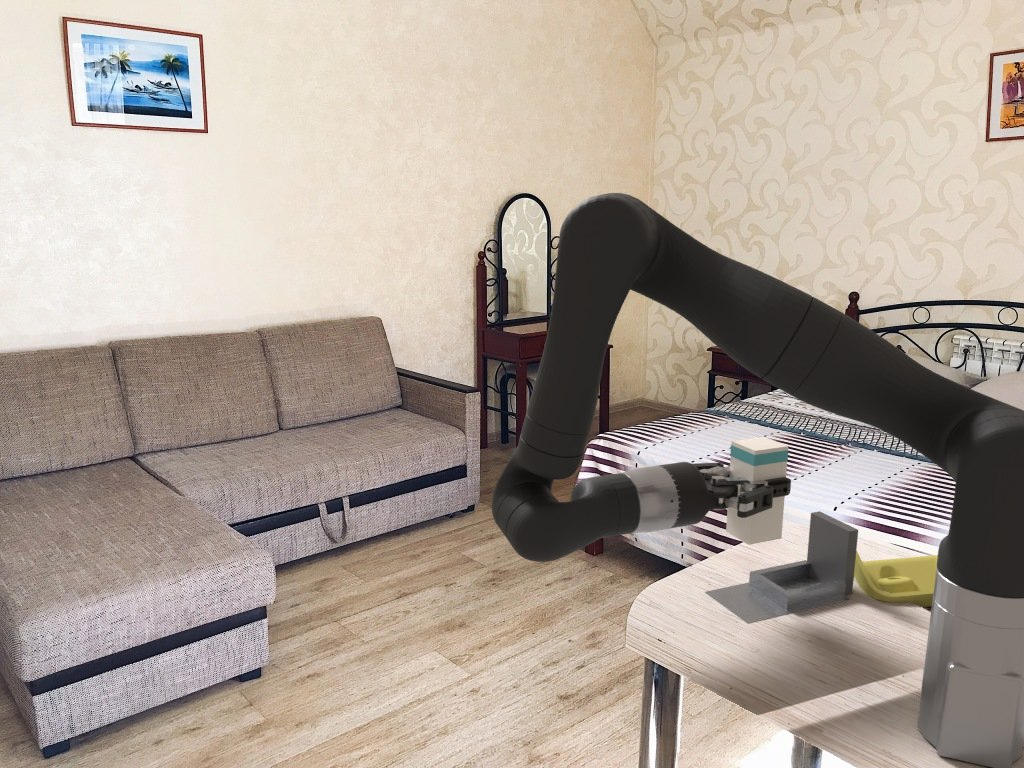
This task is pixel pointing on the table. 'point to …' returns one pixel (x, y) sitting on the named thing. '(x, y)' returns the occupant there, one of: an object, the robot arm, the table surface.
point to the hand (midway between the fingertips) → (774, 479)
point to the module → (756, 464)
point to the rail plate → (778, 593)
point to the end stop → (832, 550)
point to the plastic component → (898, 579)
